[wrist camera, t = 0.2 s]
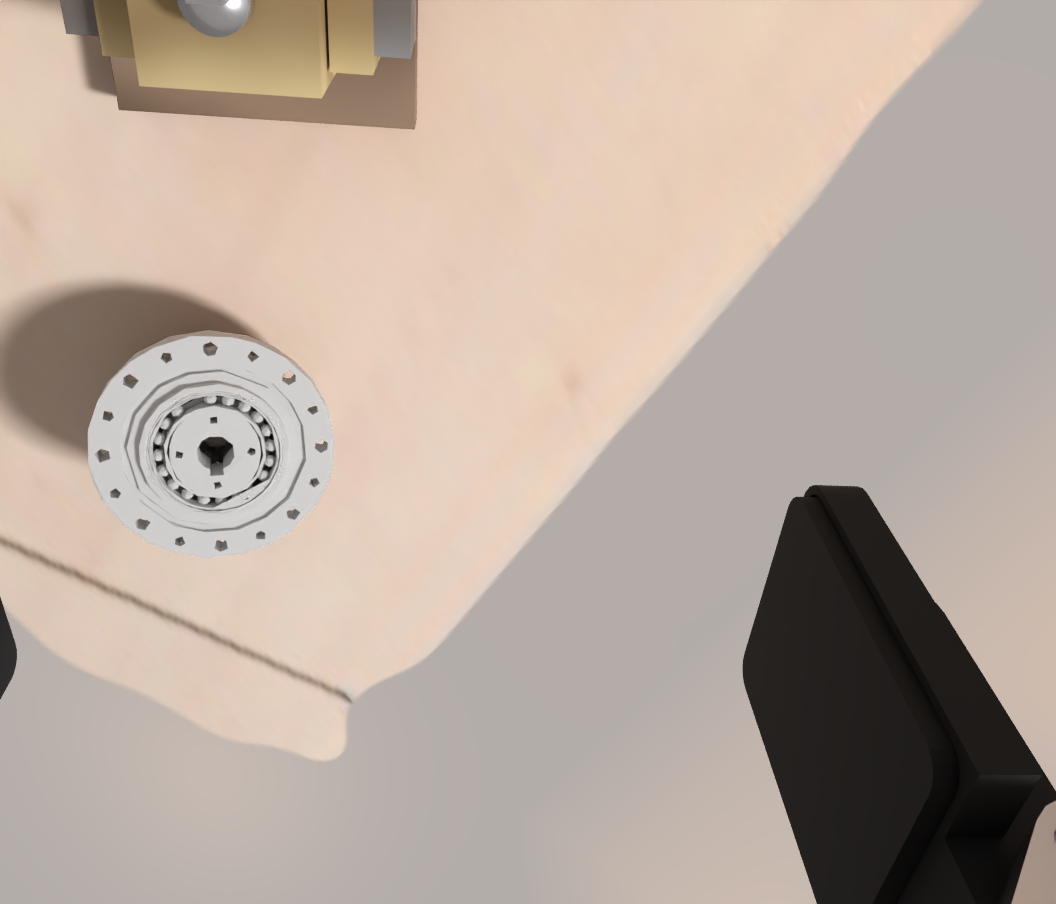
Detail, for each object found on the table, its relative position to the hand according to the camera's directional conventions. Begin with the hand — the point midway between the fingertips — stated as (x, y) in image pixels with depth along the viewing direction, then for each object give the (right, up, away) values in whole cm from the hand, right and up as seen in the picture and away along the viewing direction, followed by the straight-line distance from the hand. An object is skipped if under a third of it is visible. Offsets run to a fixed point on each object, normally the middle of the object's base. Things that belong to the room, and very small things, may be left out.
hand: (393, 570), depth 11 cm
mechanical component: (-17, +2, +28) cm, 33 cm away
